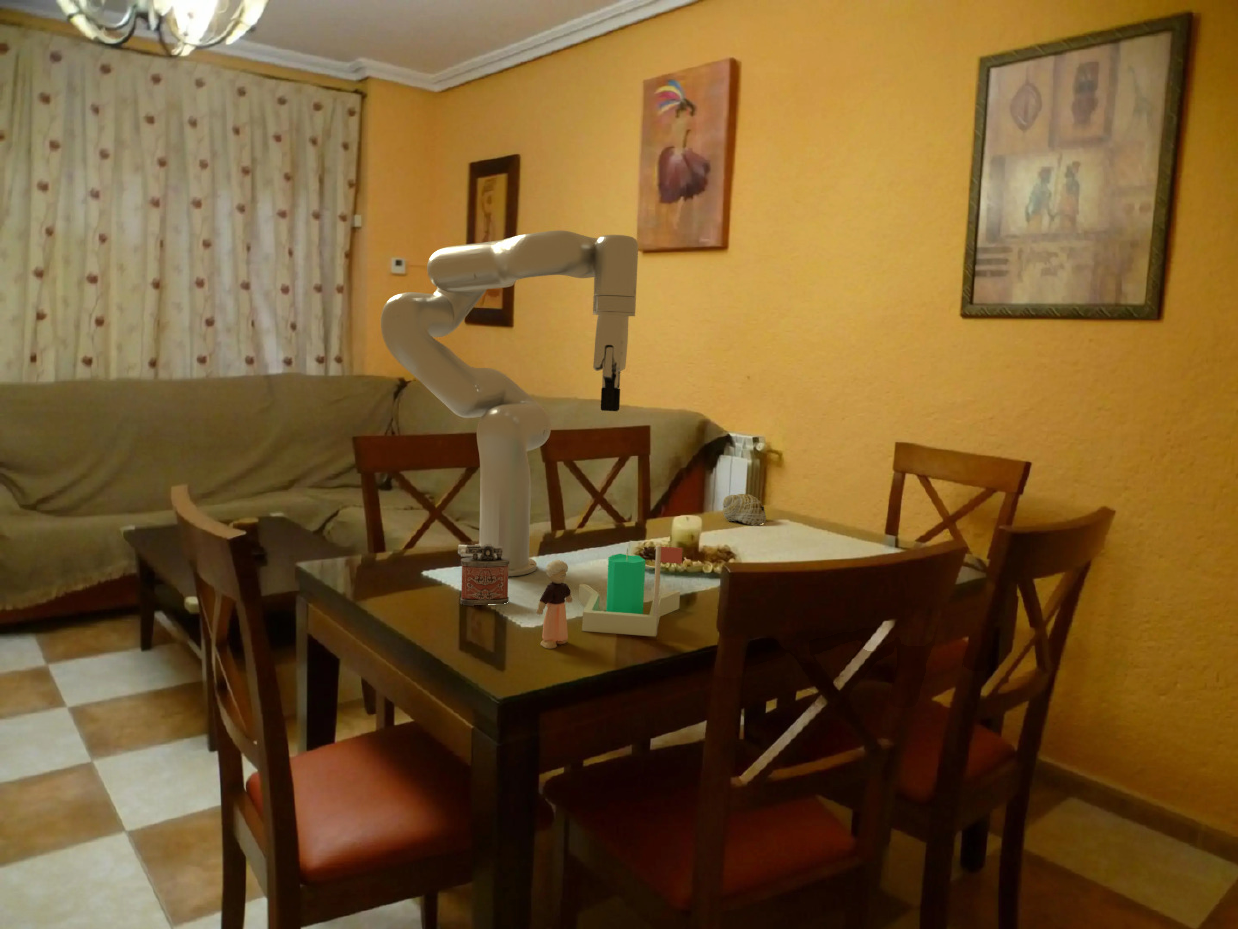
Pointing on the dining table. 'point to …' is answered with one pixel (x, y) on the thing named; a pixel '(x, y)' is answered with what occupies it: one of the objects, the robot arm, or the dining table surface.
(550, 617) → the grandmother figurine
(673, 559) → the white tray with post
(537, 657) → the dining table surface
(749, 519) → the seashell
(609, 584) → the candle
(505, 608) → the dining table surface
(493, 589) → the lighter
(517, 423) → the robot arm
